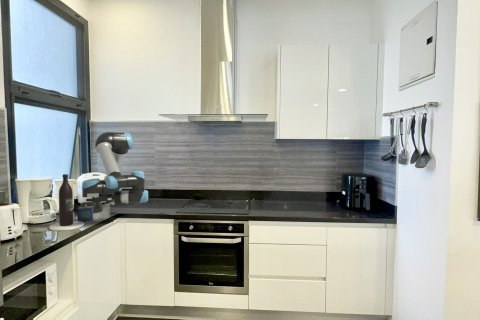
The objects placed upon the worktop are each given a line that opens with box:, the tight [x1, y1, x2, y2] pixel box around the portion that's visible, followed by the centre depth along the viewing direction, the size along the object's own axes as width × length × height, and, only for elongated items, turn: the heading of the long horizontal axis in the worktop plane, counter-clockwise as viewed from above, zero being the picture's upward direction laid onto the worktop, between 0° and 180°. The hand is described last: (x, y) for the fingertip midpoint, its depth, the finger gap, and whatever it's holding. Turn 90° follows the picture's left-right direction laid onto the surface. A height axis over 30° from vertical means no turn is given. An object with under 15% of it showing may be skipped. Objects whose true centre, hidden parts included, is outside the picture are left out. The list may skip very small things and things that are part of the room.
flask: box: [76, 205, 94, 223], centre depth 194 cm, size 9×3×11 cm, turn 135°
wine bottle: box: [58, 173, 74, 226], centre depth 180 cm, size 7×7×30 cm
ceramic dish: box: [48, 220, 85, 232], centre depth 181 cm, size 18×18×1 cm
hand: (84, 197), depth 182 cm, fingers open, 13 cm apart
